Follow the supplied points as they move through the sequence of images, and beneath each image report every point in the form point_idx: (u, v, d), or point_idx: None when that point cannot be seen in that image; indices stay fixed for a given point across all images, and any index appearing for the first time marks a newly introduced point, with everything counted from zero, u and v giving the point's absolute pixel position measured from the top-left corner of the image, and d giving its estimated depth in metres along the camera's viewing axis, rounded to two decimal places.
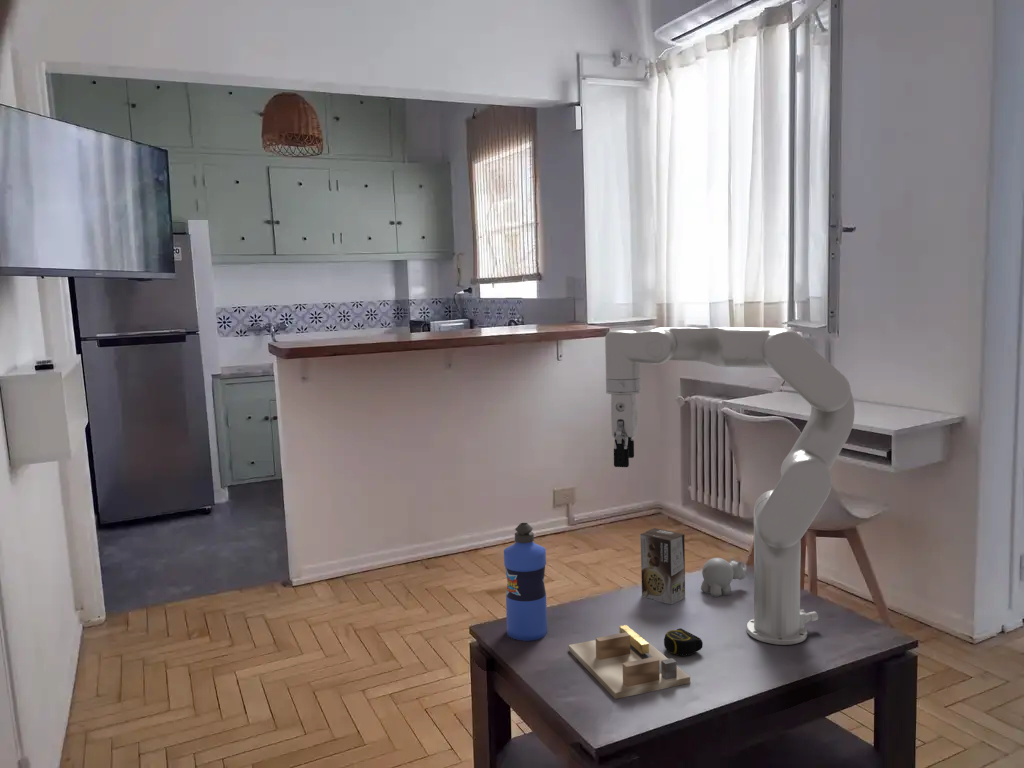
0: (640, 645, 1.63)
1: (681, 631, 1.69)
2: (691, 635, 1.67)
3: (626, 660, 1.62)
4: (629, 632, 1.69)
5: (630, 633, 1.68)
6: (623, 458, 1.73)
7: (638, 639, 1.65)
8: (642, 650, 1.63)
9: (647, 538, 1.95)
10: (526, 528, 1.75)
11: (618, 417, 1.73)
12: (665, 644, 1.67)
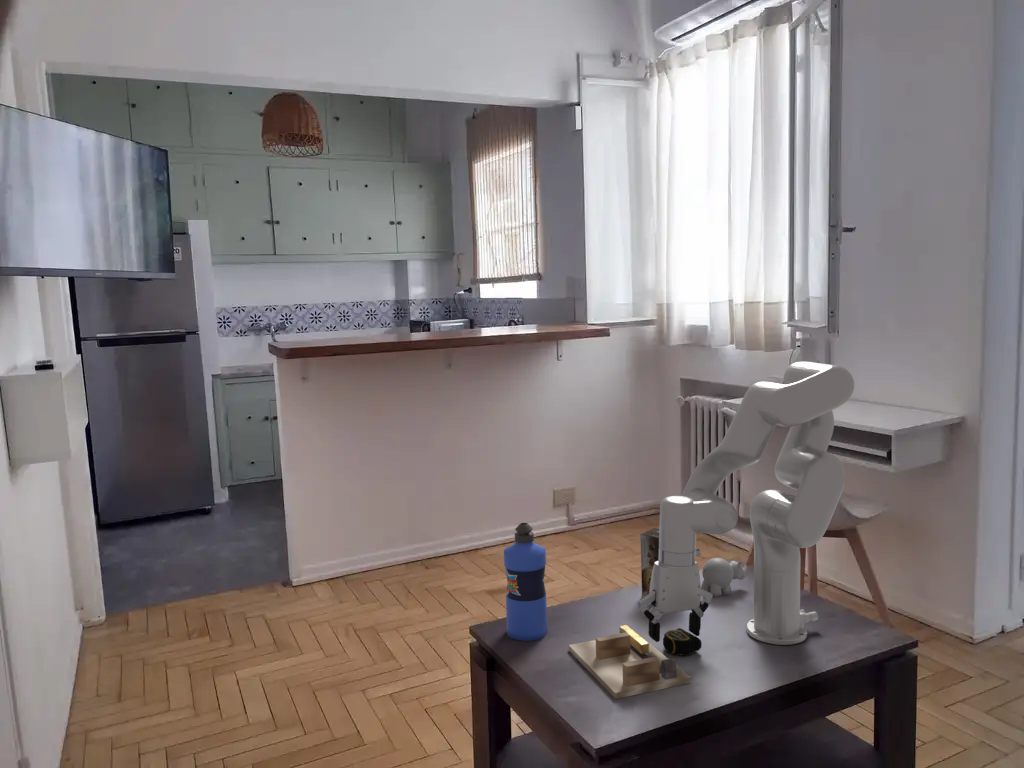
0: (640, 645, 1.63)
1: (680, 631, 1.69)
2: (690, 635, 1.67)
3: (626, 660, 1.62)
4: (629, 632, 1.69)
5: (630, 633, 1.68)
6: None
7: (638, 639, 1.65)
8: (642, 650, 1.63)
9: (647, 538, 1.95)
10: (526, 528, 1.75)
11: None
12: (664, 644, 1.67)
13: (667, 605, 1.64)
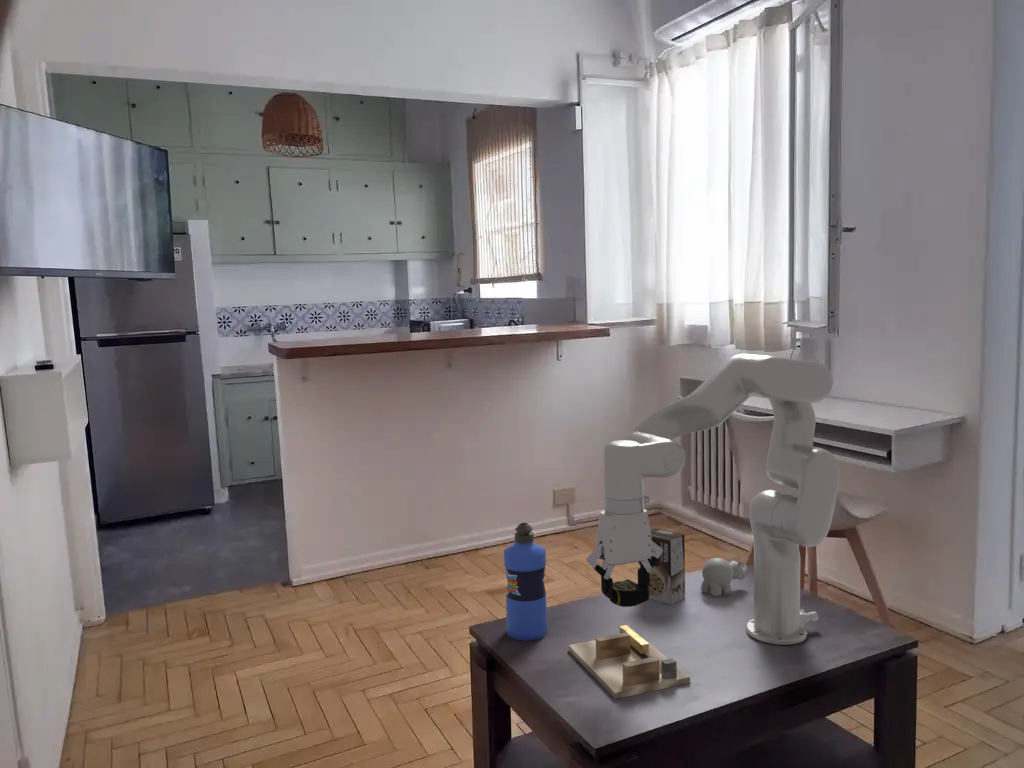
0: (640, 645, 1.63)
1: (627, 582, 1.58)
2: (637, 585, 1.56)
3: (626, 660, 1.62)
4: (629, 632, 1.69)
5: (630, 633, 1.68)
6: None
7: (638, 639, 1.65)
8: (642, 650, 1.63)
9: None
10: (526, 528, 1.75)
11: None
12: None
13: (615, 557, 1.53)
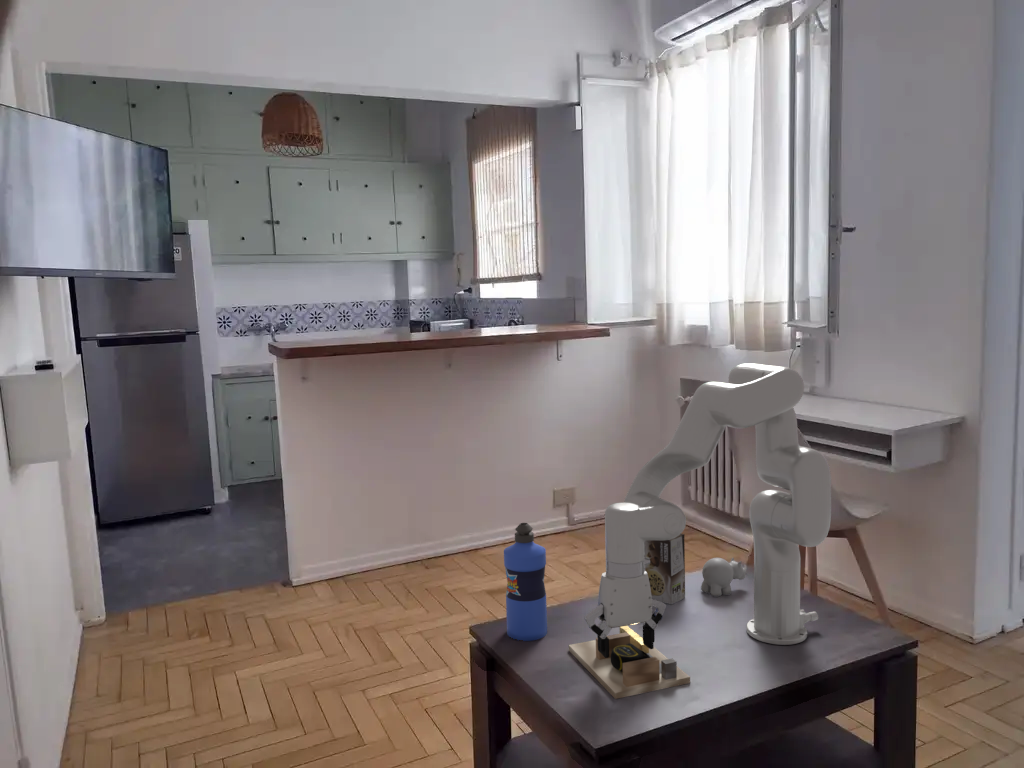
0: (640, 645, 1.63)
1: (630, 646, 1.60)
2: (639, 651, 1.57)
3: None
4: (629, 632, 1.69)
5: (630, 633, 1.68)
6: None
7: (638, 639, 1.65)
8: (642, 650, 1.63)
9: None
10: (526, 528, 1.75)
11: None
12: (611, 660, 1.57)
13: (616, 619, 1.54)
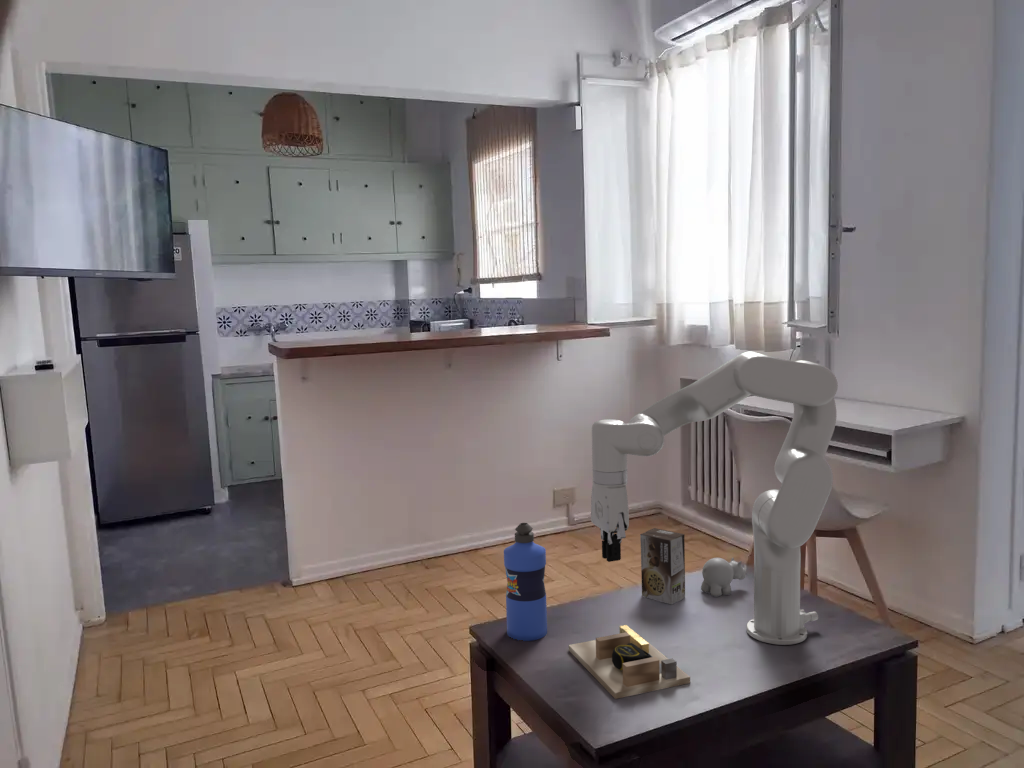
0: (640, 645, 1.63)
1: (631, 646, 1.60)
2: (640, 651, 1.58)
3: None
4: (629, 632, 1.69)
5: (630, 633, 1.68)
6: None
7: (638, 639, 1.65)
8: None
9: (647, 538, 1.95)
10: (526, 528, 1.75)
11: None
12: (612, 660, 1.58)
13: None
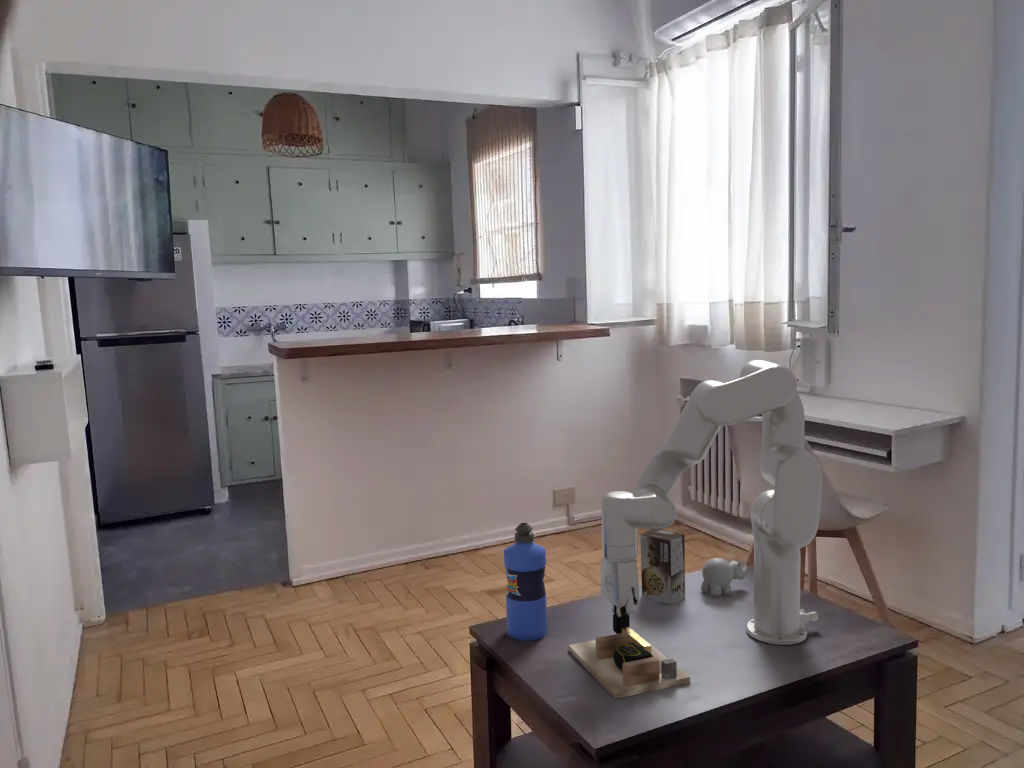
0: (642, 647, 1.62)
1: (632, 645, 1.60)
2: (642, 650, 1.58)
3: None
4: (631, 634, 1.68)
5: (632, 635, 1.67)
6: None
7: (640, 641, 1.64)
8: None
9: (647, 538, 1.95)
10: (526, 528, 1.75)
11: None
12: (614, 659, 1.58)
13: None
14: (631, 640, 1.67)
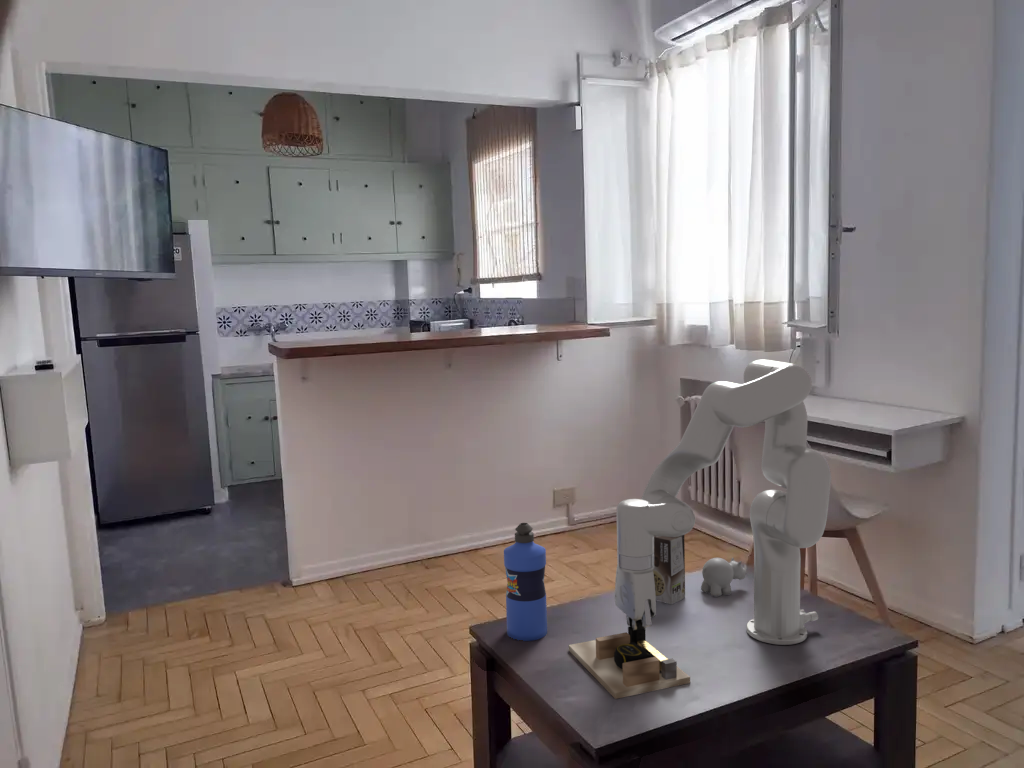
0: (660, 662, 1.55)
1: (633, 645, 1.60)
2: (642, 650, 1.58)
3: None
4: (648, 648, 1.61)
5: (649, 649, 1.60)
6: None
7: (657, 655, 1.58)
8: None
9: None
10: (526, 528, 1.75)
11: None
12: (615, 659, 1.58)
13: None
14: None
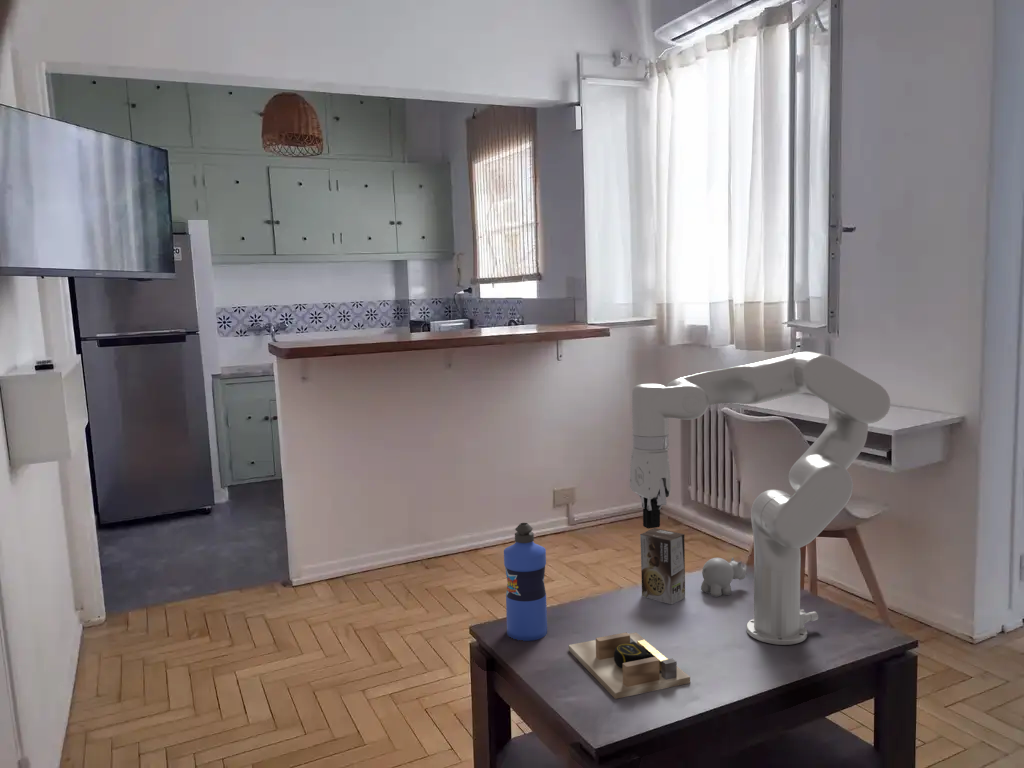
0: (660, 662, 1.56)
1: (633, 645, 1.60)
2: (642, 649, 1.58)
3: None
4: (648, 648, 1.61)
5: (649, 649, 1.60)
6: None
7: (657, 655, 1.58)
8: None
9: (647, 538, 1.95)
10: (526, 528, 1.75)
11: None
12: (614, 658, 1.58)
13: None
14: None
